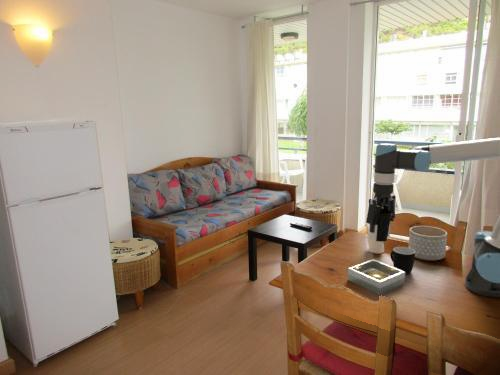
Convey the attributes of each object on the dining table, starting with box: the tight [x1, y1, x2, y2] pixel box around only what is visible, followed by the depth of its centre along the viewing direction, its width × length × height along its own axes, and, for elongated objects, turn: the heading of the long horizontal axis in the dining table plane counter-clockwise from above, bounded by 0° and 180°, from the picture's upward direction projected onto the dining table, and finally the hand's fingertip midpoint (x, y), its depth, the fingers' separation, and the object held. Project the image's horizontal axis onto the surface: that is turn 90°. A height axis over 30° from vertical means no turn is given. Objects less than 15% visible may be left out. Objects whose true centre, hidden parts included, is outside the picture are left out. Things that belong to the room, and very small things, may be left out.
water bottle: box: [366, 208, 385, 255], centre depth 185 cm, size 10×9×28 cm
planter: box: [407, 225, 448, 262], centre depth 179 cm, size 16×16×13 cm
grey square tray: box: [347, 258, 406, 296], centre depth 153 cm, size 16×16×6 cm
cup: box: [373, 209, 392, 243], centre depth 148 cm, size 8×8×12 cm
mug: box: [389, 246, 416, 276], centre depth 163 cm, size 12×9×10 cm
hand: (379, 237), depth 150 cm, fingers closed on cup, 8 cm apart
